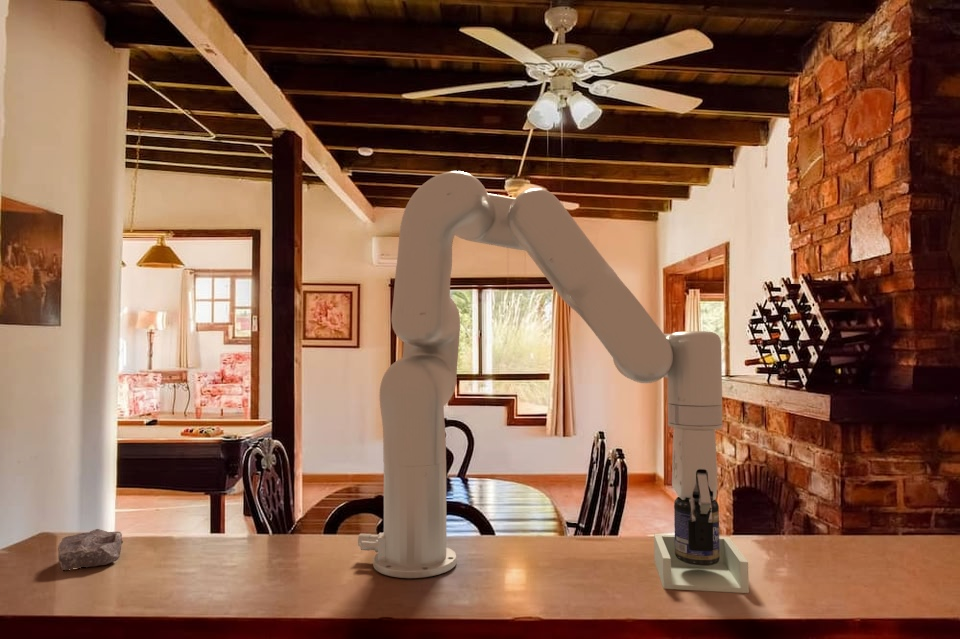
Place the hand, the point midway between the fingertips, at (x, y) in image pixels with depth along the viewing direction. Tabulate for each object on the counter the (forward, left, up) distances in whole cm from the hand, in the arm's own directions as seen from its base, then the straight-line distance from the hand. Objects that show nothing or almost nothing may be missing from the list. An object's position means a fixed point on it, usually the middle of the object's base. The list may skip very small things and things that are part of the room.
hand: (696, 541), depth 91 cm
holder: (0, 0, -5) cm, 5 cm away
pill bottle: (0, 0, -3) cm, 3 cm away
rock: (-92, -6, -5) cm, 92 cm away
